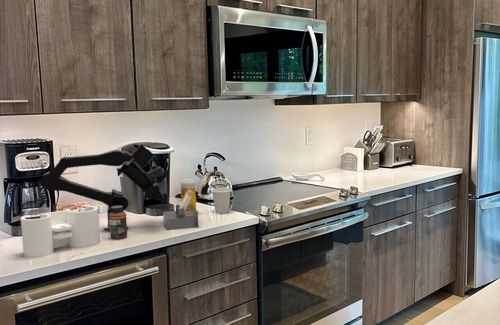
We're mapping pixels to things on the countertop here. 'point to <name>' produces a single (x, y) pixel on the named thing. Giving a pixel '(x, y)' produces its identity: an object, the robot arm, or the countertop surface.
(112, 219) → the supplement bottle
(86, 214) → the white twin cylinder holder
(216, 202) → the dixie cup
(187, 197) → the breaker lever
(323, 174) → the countertop surface
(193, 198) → the yellow jar
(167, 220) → the grey block with tab
